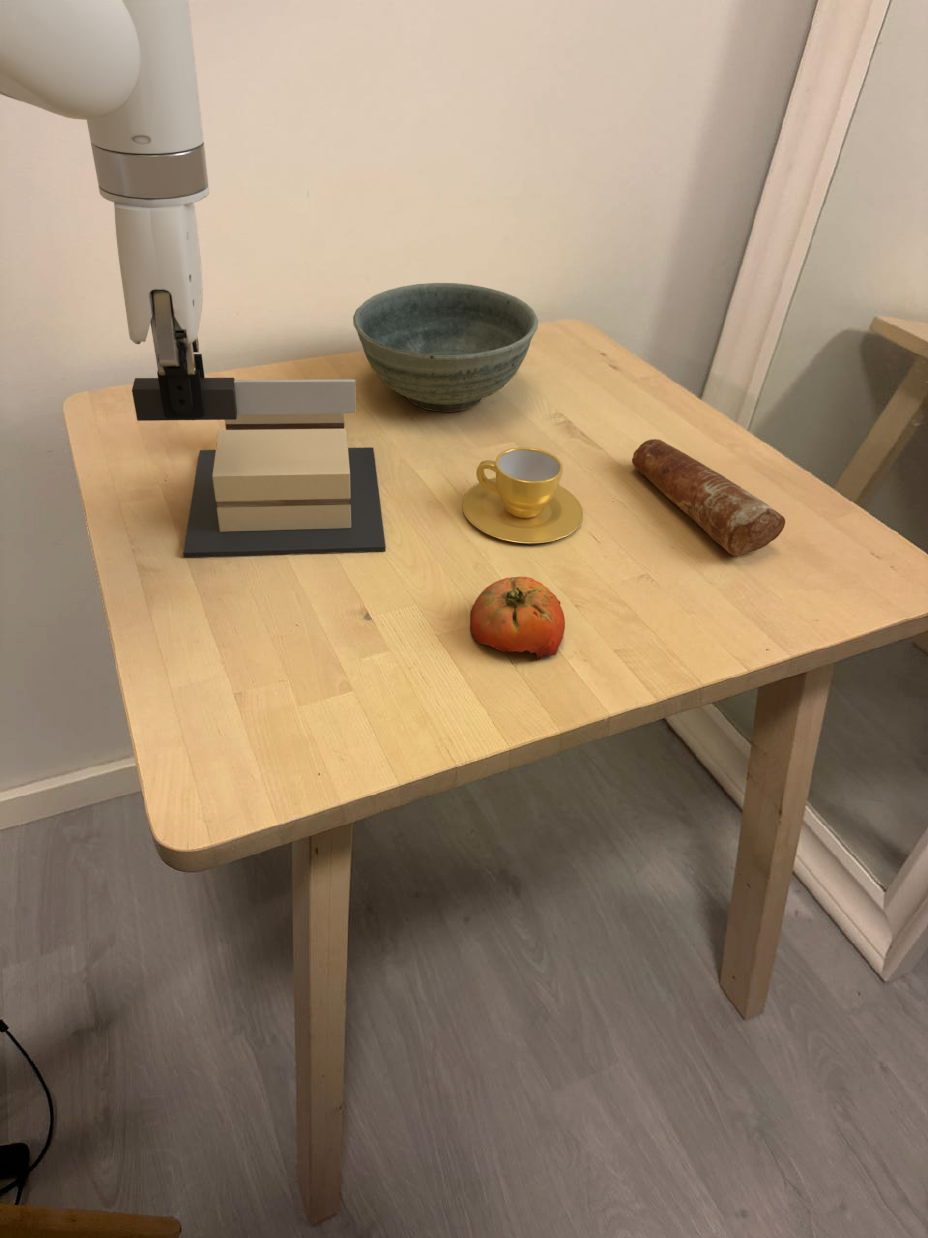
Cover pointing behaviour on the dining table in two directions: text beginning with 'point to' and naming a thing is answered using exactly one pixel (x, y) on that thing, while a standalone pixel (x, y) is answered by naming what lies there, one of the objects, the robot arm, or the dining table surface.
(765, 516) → the salami
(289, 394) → the knife
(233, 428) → the slice
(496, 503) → the cup
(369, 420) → the dining table surface
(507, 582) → the tomato
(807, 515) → the dining table surface
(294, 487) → the cake
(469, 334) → the bowl
